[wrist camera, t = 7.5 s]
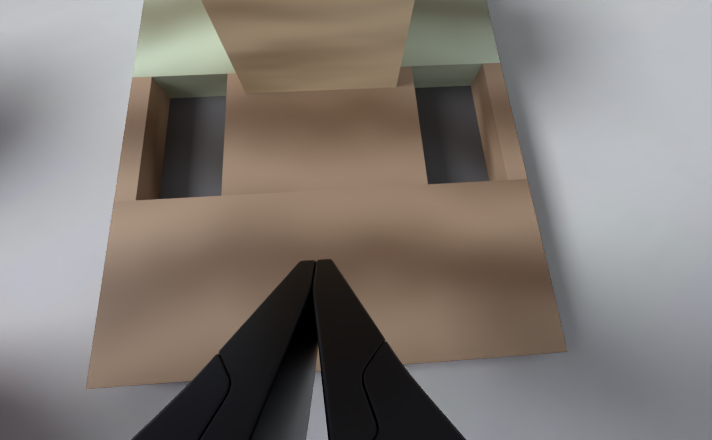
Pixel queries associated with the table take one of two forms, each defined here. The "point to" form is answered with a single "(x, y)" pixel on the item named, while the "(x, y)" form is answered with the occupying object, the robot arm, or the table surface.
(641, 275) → the table surface
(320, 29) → the maple block
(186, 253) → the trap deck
